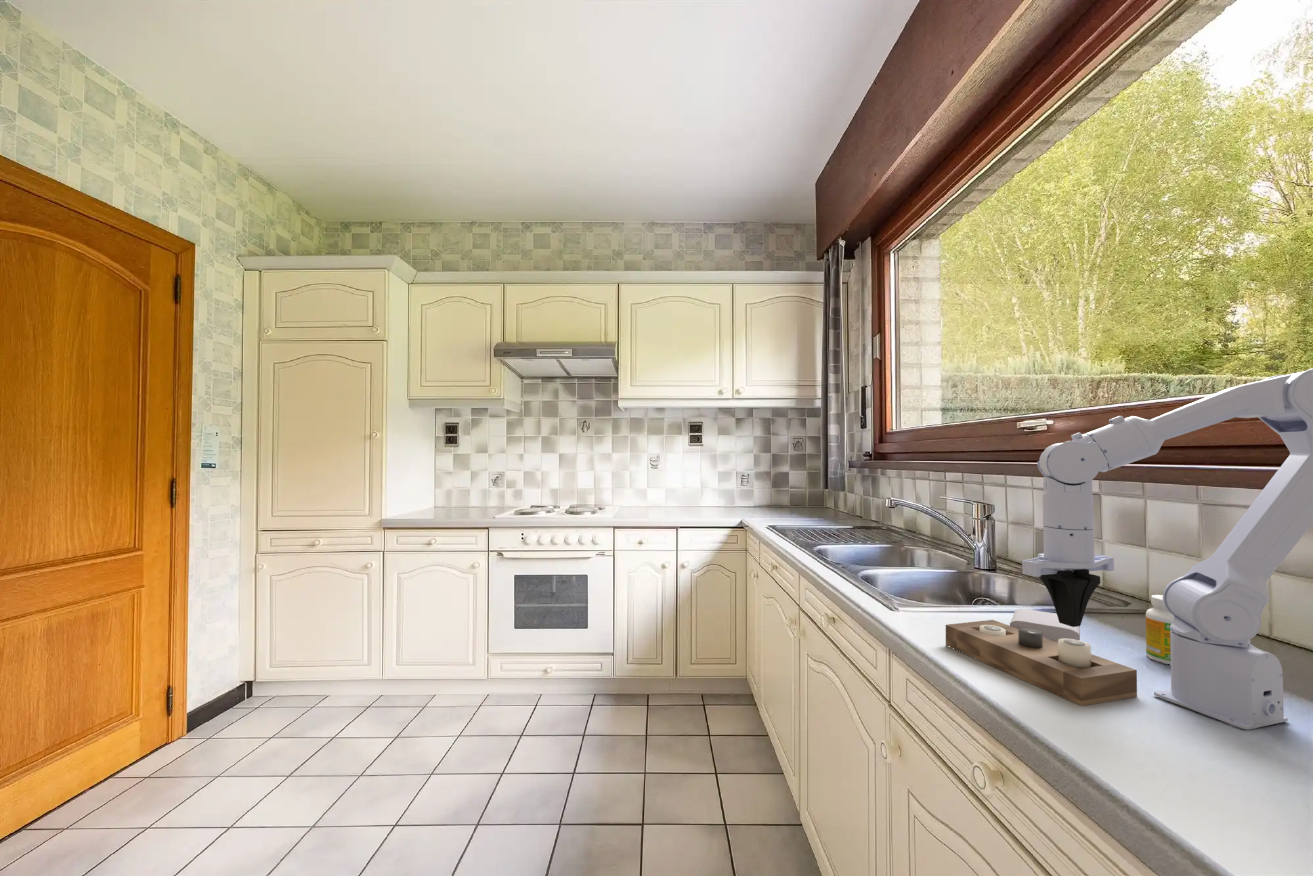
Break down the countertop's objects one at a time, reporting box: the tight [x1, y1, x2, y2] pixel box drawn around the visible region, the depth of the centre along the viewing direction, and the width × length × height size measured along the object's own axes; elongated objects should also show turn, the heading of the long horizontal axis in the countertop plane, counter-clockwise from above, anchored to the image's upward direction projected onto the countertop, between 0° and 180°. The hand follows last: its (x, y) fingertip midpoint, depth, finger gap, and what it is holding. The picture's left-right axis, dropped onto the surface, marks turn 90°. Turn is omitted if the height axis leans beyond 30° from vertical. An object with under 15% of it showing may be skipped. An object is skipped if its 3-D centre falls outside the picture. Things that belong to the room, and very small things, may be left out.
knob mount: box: [945, 619, 1138, 707], centre depth 81 cm, size 22×10×4 cm, turn 16°
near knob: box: [1058, 638, 1092, 669], centre depth 75 cm, size 4×4×3 cm
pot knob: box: [1018, 628, 1043, 648], centre depth 81 cm, size 3×3×2 cm
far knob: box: [980, 625, 1006, 637], centre depth 88 cm, size 4×4×3 cm
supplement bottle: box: [1145, 594, 1174, 666], centre depth 85 cm, size 5×5×10 cm
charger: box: [1009, 608, 1081, 642], centre depth 94 cm, size 5×9×15 cm
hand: (1069, 624), depth 76 cm, fingers closed
